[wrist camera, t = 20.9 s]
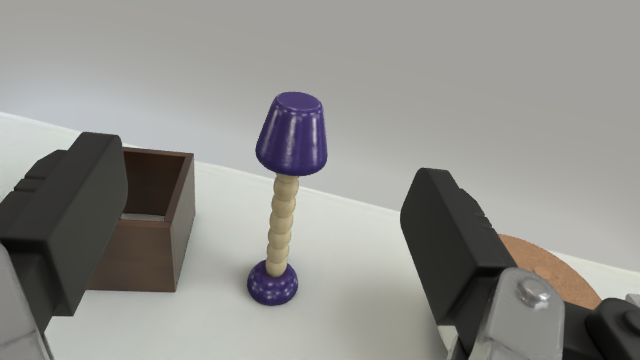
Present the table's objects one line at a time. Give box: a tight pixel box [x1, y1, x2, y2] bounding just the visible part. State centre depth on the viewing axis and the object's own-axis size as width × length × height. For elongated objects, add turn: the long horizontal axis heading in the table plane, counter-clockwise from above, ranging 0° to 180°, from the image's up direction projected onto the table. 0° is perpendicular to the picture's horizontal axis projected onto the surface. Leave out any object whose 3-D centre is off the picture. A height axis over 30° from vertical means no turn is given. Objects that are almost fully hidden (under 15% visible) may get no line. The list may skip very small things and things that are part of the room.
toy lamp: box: [247, 92, 327, 305], centre depth 27 cm, size 5×5×17 cm
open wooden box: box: [86, 147, 195, 292], centre depth 30 cm, size 9×9×7 cm
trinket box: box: [437, 234, 602, 352], centre depth 28 cm, size 11×11×9 cm
